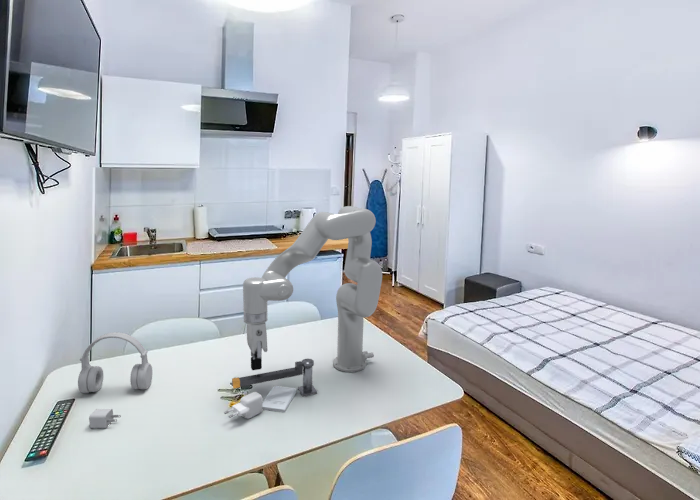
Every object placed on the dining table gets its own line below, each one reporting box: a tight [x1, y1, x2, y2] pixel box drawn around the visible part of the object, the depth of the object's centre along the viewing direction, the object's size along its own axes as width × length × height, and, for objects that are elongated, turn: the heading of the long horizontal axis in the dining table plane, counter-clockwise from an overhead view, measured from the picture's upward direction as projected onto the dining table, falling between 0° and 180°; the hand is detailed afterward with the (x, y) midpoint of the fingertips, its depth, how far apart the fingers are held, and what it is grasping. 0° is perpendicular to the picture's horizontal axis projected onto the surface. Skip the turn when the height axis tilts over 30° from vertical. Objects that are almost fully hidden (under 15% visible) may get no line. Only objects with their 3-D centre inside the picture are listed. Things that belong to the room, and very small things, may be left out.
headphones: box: [77, 331, 153, 394], centre depth 131 cm, size 20×8×19 cm, turn 100°
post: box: [297, 366, 318, 398], centre depth 134 cm, size 5×5×9 cm
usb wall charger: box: [88, 408, 122, 429], centre depth 114 cm, size 4×7×4 cm, turn 93°
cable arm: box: [231, 358, 315, 389], centre depth 128 cm, size 26×4×4 cm, turn 115°
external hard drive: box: [262, 385, 298, 413], centre depth 129 cm, size 2×8×12 cm
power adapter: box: [223, 391, 263, 420], centre depth 119 cm, size 11×5×6 cm, turn 137°
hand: (256, 368), depth 134 cm, fingers closed
